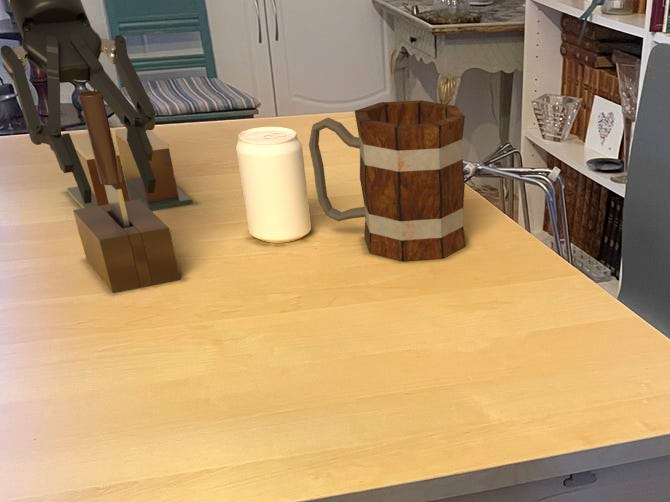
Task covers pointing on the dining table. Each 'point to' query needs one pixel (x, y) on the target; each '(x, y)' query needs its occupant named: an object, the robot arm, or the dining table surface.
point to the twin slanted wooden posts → (131, 174)
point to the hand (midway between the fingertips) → (120, 191)
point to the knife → (104, 153)
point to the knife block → (127, 247)
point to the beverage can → (273, 184)
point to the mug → (404, 178)
